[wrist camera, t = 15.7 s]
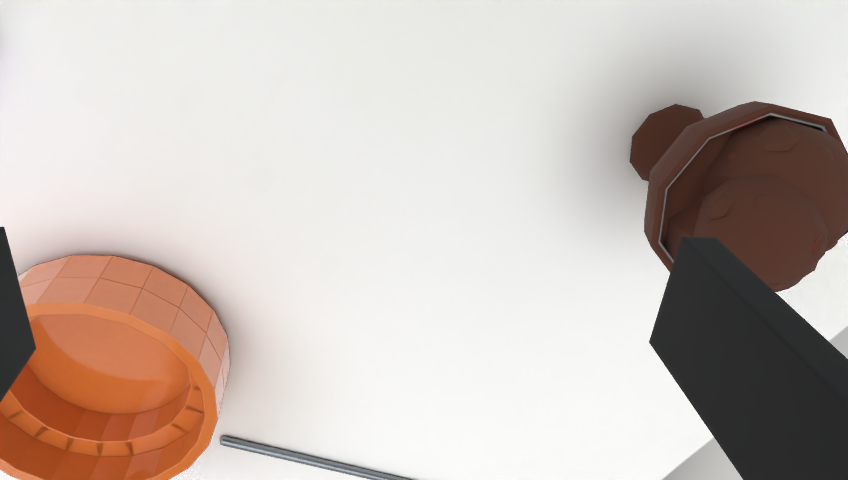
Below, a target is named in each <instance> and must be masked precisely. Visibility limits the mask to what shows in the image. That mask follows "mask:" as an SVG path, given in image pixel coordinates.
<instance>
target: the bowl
mask: <svg viewBox="0 0 848 480" xmlns="http://www.w3.org/2000/svg"><path fill="white" fill-rule="evenodd" d="M18 281H19V285H20V288H21V292H22V296H23V300H24V303H25V307H26V311H27V315H28V318H29V322H30V326H31V330H32V333H33V337H34V341H35V344H36V350H35V351H34V353H33V354H32V356H31V357H30V359H29V360H28V362H27V363H26V365H25V366H24V368H23V369H22V371H21V372H20V374H19V375H18V377H17V378H16V380H15V381H14V383H13V384H12V386H11V387H10V389H9V390H8V392H7V393H6V395H5V396H4V398H3V399H2V401H1V402H0V470H2V471H3V472H5V473H6V474H8V475H10V476H12V477H14V478H17V479H20V480H169V479H171V478H173V477H174V476H176V475H178V474H179V473H181V472H183V471H185V470H186V469H188V468H189V467H190V466H191V465H192V464H193V463H194V462H195V461H196V459H197V458H198V457H199V456H200V455H201V454H202V453H203V452H204V450H205V449H206V448H207V447H208V445H209V444H210V441H211V438H212V435H213V432H214V429H215V426H216V423H217V420H218V416H219V412H220V408H221V403H222V399H223V395H224V390H225V386H226V382H227V377H228V373H229V369H230V357H229V346H228V338H227V335H226V333H225V331H224V329H223V327H222V325H221V323H220V321H219V319H218V317H217V316H216V314H215V312H214V310H213V309H212V308H211V307H210V306H209V305H208V304H207V303H206V302H205V301H204V300H203V299H202V298H201V297H200V296H199V295H198V294H197V293H196V292H195V291H194V290H193V289H192V288H191V287H190V286H188V285H187V284H186V283H184V282H182V281H180V280H178V279H177V278H175V277H173V276H171V275H169V274H168V273H166V272H164V271H162V270H160V269H158V268H157V267H155V266H154V267H153V266H152V265H148V264H144V263H140V262H136V261H132V260H129V259H125V258H121V257H117V256H104V255H73V256H72V255H71V256H67V257H64V258H60V259H56V260H53V261H49V262H45V263H42V264H38V265H35V266H33V267H32V268H30V269H29V270H27V271H26V272H24V273H23V274H21V275H20V276H18Z"/></svg>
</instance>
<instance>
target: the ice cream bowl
mask: <svg viewBox="0 0 848 480" xmlns="http://www.w3.org/2000/svg"><path fill="white" fill-rule="evenodd" d="M630 163H631V164H632V165H633V167H634V168H635V170H636V171H637V173H638V174H639V175H640V177H641V178H642V179H643V180H647V181H649V186H648V194H647V202H646V210H645V218H644V232H645V235H646V237H647V239H648V241H649V244H650V246H651V247H652V249H653V250H654V251H655V253H656V254H657V255H658V257H659V258H660V260H661V261H662V262H663V264H664V265H665V266H666V268H667V269H668V270H669V272H670V273H671V269H672V266H673V263H674V260H675V256H676V253H677V250H678V247H679V243H680V240H681V237H716V238H717V239H718V240H719V241H720V242H721V243H722V244H723V245H724V246H725V247H726V248H727V249H729V250H730V251H731V252H732V253H733V254H734V255H735V256H736V257H737V258H738V259H739V260H741V261H742V262H743V263H744V264H745V265H746V266H747V267H748V268H749V269H750V270H751V271H752V272H754V273H755V274H756V275H757V276H758V277H759V278H760V279H761V280H762V281H763V282H764V283H765V284H767V285H768V286H769V287H770V288H771V289H772V290H773V291H774V292H778V291H782V290H785V289H789V288H790V287H792V286H794V285H796V284H797V283H798V282H799V281H800V280H801V279H802V278H803V277H805V276H806V275H808V274H809V273H811V272H812V271H814V270H815V268H816V266H817V263H818V261H819V260H820V259H821V258H822V256H823V255H824V254H825V252H826V251H828V250H830V249H832V248H833V247H834V246H835V245H836V244H837V242H838V240H839V239H840V238H841V237H842V236H844V235H845V234H846V233H847V232H848V153H847V151H846V149H845V147H844V145H843V143H842V141H841V139H840V137H839V135H838V132H837V130H836V128H835V126H834V124H833V122H832V120H831V119H829V118H825V117H821V116H817V115H814V114H810V113H806V112H802V111H798V110H794V109H790V108H786V107H782V106H778V105H774V104H769V103H762V102H756V101H754V102H750V103H746V104H741V105H738V106H736V107H733V108H731V109H728V110H726V111H723V112H721V113H718V114H716V115H714V116H711V117H709V118H706V119H704V117H703V116H702V114H701V112H700V111H699V110H697V109H693V108H689V107H685V106H681V105H677V104H675V105H672V106H670V107H667V108H665V109H663V110H660V111H658V112H655V113H653V114H650V115H649V116H648V118H647V119H646V120H645V122H644V123H643V124H642V125H641V127H640V128H639V129H638V130H637V132H636V133H635V134H634V136H633V137H632V146H631V155H630Z"/></svg>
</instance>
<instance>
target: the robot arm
mask: <svg viewBox="0 0 848 480" xmlns="http://www.w3.org/2000/svg"><path fill="white" fill-rule="evenodd" d="M649 343H650V344H651V346H652V347H653V349H654V350H655V351H656V353H657V354H658V356H659V357H660V359H661V360H662V362H663V363H664V365H665V366H666V368H667V369H668V370H669V372H670V373H671V375H672V376H673V378H674V379H675V381H676V382H677V384H678V385H679V386H680V388H681V389H682V391H683V392H684V394H685V395H686V397H687V398H688V400H689V401H690V403H691V404H692V405H693V407H694V408H695V410H696V411H697V413H698V414H699V416H700V417H701V419H702V420H703V422H704V423H705V424H706V426H707V427H708V429H709V430H710V432H711V433H712V435H713V436H714V438H715V439H716V440H717V442H718V443H719V445H720V446H721V448H722V449H723V451H724V452H725V453H726V455H727V457H728V458H729V459H730V461H731V462H732V464H733V465H734V467H735V468H736V470H737V471H738V472H739V474H740V476H741V477H742V478H743V480H848V359H847V358H846V357H845V356H844V355H842V354H841V353H840V352H839V351H838V350H837V349H836V348H835V347H833V345H832V344H830V343H829V342H828V341H827V340H826V339H825V338H824V337H823V336H822V335H821V334H820V333H819V332H818V331H816V330H815V329H814V328H813V327H812V326H811V325H810V324H809V323H808V322H807V321H806V320H805V319H803V318H802V317H801V316H800V315H799V314H798V313H797V312H796V311H795V310H794V309H793V308H792V307H790V306H789V305H788V304H787V303H786V302H785V301H784V300H783V299H782V298H781V297H780V296H778V295H777V294H776V293H775V292H774V291H773V290H772V289H771V288H770V287H769V286H768V285H767V284H765V283H764V282H763V281H762V280H761V279H760V278H759V277H758V276H757V275H756V274H755V273H754V272H752V271H751V270H750V269H749V268H748V267H747V266H746V265H745V264H744V263H743V262H742V261H741V260H739V259H738V258H737V257H736V256H735V255H734V254H733V253H732V252H731V251H730V250H729V249H727V248H726V247H725V246H724V245H723V244H722V243H721V242H720V241H719V240H718V239H717V238H716V237H681V240H680V243H679V247H678V250H677V253H676V256H675V260H674V263H673V266H672V269H671V273H670V276H669V279H668V282H667V286H666V289H665V292H664V296H663V299H662V302H661V305H660V309H659V312H658V315H657V318H656V322H655V325H654V328H653V331H652V335H651V338H650V341H649ZM35 350H36V344H35V341H34V337H33V333H32V330H31V326H30V322H29V318H28V315H27V311H26V307H25V303H24V300H23V296H22V292H21V288H20V285H19V281H18V277H17V273H16V270H15V266H14V262H13V259H12V255H11V251H10V247H9V244H8V240H7V236H6V232H5V229H4V227H0V402H1V401H2V399H3V398H4V396H5V395H6V393H7V392H8V390H9V389H10V387H11V386H12V384H13V383H14V381H15V380H16V378H17V377H18V375H19V374H20V372H21V371H22V369H23V368H24V366H25V365H26V363H27V362H28V360H29V359H30V357H31V356H32V354H33V353H34V351H35Z"/></svg>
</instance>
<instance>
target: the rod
mask: <svg viewBox="0 0 848 480" xmlns="http://www.w3.org/2000/svg"><path fill="white" fill-rule="evenodd" d="M220 444H221V445H223V446H228V447H232V448H236V449H241V450H245V451H249V452H254V453H258V454H262V455H267V456H271V457H275V458H280V459H284V460H288V461H293V462H297V463H301V464H306V465H310V466H314V467H319V468H323V469H327V470H332V471H336V472H340V473H345V474H349V475H353V476H358V477H362V478H367V479H371V480H410V479H405V478H401V477H397V476H393V475H388V474H384V473H380V472H376V471H371V470H367V469H363V468H358V467H354V466H350V465H346V464H341V463H337V462H333V461H329V460H324V459H320V458H316V457H312V456H307V455H303V454H299V453H295V452H290V451H286V450H282V449H278V448H273V447H269V446H265V445H261V444H256V443H252V442H248V441H244V440H239V439H235V438H231V437H226V436H223V437H222V438H221V439H220Z"/></svg>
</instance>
